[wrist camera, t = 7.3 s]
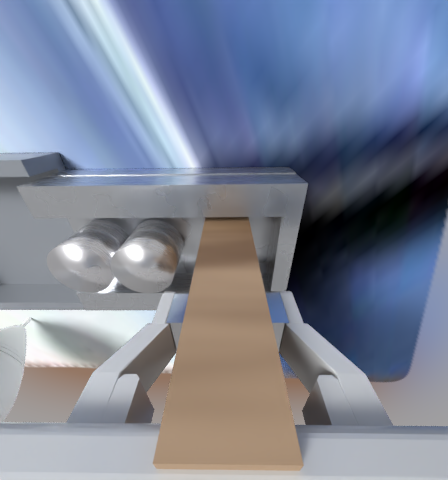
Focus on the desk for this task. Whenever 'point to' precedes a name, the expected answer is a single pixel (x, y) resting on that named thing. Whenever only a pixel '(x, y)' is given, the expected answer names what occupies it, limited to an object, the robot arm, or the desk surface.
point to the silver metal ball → (148, 257)
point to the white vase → (11, 365)
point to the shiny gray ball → (87, 256)
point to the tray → (30, 239)
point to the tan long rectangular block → (227, 366)
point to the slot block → (177, 215)
